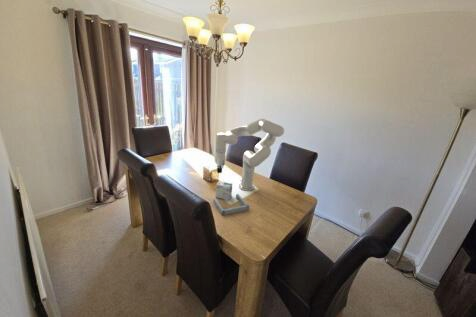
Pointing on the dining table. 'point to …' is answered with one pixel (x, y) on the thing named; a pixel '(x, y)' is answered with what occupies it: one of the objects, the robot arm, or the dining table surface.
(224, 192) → the light bulb box
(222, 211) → the dock
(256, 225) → the dining table surface
